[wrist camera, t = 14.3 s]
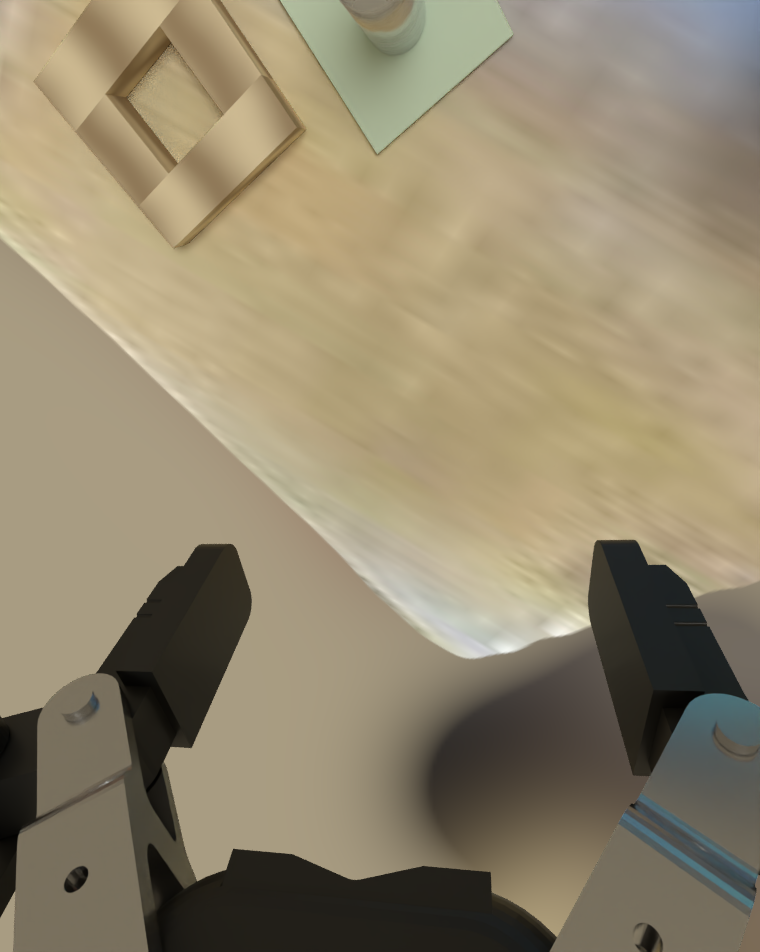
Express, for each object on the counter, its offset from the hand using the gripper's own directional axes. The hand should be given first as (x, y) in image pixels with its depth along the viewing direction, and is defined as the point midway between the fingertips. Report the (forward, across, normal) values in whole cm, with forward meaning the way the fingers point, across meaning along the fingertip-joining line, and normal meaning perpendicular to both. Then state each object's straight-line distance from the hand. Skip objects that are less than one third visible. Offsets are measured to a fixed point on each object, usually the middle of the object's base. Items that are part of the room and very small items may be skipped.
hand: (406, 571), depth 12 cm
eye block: (+32, +17, -12) cm, 38 cm away
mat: (+32, +2, -15) cm, 35 cm away
